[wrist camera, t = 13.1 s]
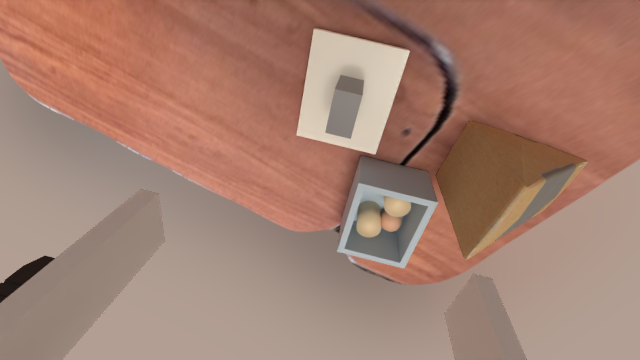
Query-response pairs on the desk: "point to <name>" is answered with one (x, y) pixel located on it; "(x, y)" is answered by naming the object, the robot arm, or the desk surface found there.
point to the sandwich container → (499, 183)
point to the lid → (349, 89)
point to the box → (386, 211)
